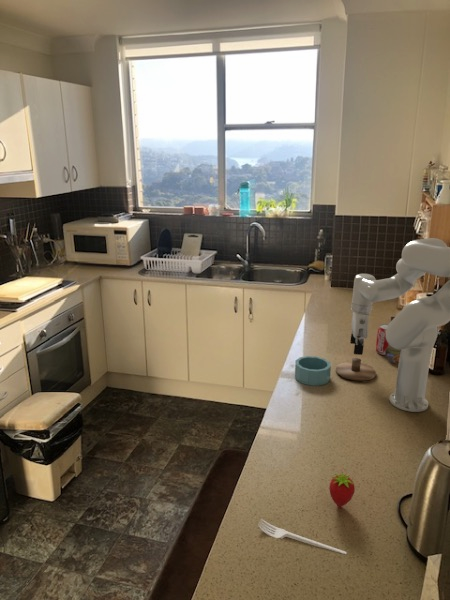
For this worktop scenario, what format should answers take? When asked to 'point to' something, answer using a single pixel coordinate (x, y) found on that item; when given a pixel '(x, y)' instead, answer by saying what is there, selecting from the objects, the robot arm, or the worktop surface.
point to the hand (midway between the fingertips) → (356, 348)
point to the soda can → (381, 339)
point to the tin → (392, 354)
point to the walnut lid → (355, 370)
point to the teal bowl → (312, 370)
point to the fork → (293, 536)
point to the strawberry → (341, 489)
